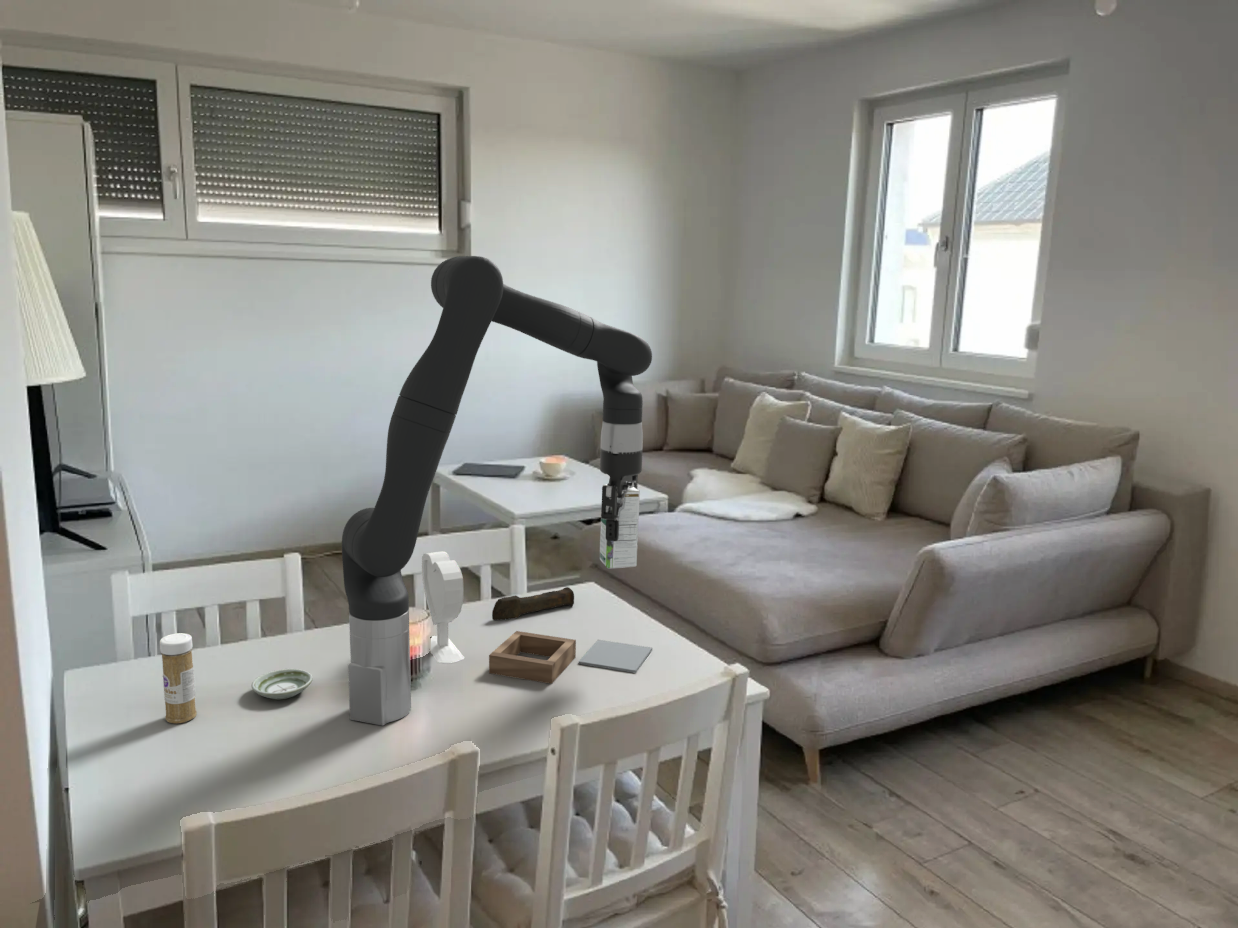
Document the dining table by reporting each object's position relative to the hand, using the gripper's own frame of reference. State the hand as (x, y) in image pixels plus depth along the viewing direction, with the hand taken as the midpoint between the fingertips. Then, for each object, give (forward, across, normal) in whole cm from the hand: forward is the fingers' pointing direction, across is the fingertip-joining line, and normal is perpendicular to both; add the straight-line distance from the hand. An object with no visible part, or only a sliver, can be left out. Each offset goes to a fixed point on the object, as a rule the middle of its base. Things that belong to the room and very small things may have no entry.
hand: (619, 534), depth 168 cm
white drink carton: (+6, 0, 0) cm, 6 cm away
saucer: (+24, +34, -48) cm, 64 cm away
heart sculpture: (+24, +8, -32) cm, 41 cm away
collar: (+24, +9, -13) cm, 29 cm away
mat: (+24, 0, 0) cm, 24 cm away
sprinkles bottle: (+24, +47, -57) cm, 78 cm away
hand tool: (+24, -16, -23) cm, 37 cm away
